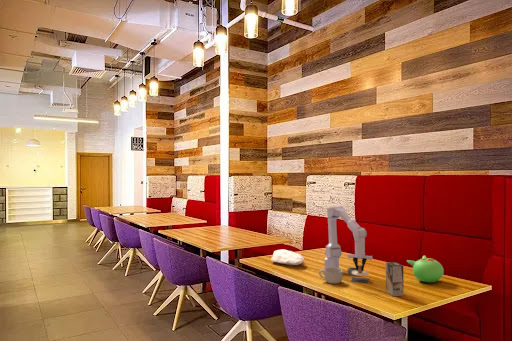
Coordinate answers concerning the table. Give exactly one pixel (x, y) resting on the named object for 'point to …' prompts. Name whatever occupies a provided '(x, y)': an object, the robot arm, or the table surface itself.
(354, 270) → the bowl
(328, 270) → the teacup
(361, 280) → the mat
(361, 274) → the lid
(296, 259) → the crumpled cloth
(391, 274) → the coffee box
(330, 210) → the robot arm
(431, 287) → the table surface
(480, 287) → the table surface
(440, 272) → the green teapot
